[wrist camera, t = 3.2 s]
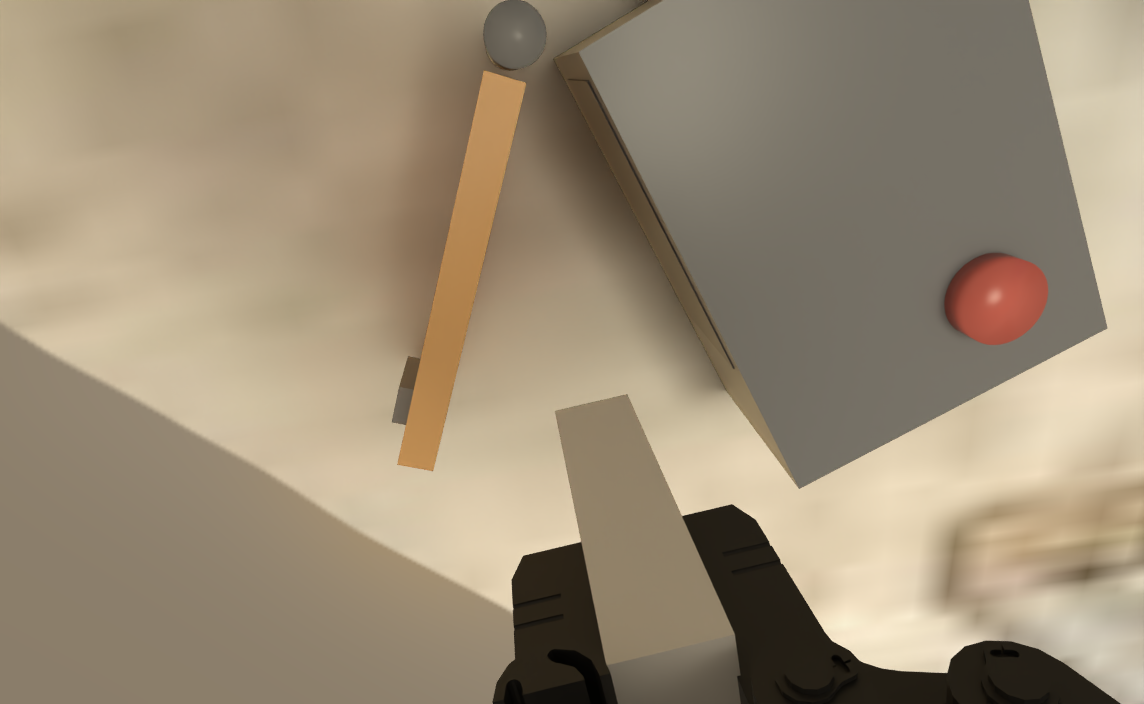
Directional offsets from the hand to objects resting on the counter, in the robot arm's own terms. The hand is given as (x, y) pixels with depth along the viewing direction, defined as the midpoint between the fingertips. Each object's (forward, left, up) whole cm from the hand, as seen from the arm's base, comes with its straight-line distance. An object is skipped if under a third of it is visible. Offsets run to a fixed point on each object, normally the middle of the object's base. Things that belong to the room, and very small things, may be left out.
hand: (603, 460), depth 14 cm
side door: (-4, -1, -11) cm, 12 cm away
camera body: (0, +9, -12) cm, 15 cm away
